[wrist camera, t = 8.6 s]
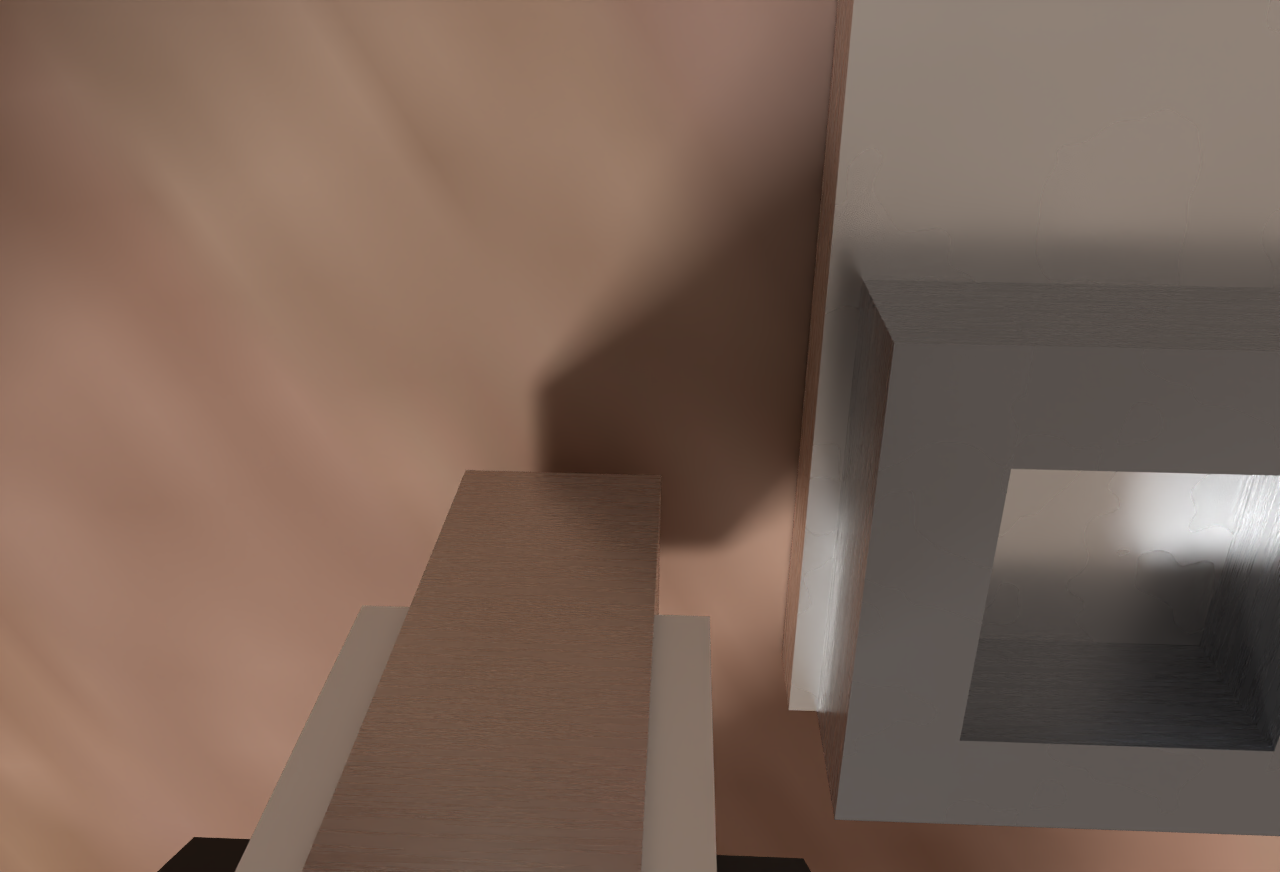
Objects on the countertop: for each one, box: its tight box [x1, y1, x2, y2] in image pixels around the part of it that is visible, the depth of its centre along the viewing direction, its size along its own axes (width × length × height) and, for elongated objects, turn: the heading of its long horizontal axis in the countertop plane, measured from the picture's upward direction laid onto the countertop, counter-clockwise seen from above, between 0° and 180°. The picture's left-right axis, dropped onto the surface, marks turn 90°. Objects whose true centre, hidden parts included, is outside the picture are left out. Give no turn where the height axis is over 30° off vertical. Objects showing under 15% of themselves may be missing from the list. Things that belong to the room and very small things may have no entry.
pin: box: [302, 470, 661, 872], centre depth 12 cm, size 4×4×12 cm
